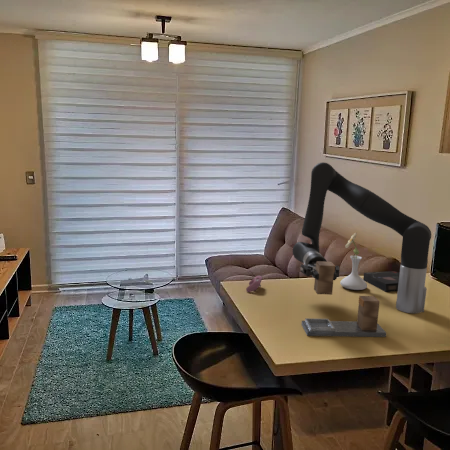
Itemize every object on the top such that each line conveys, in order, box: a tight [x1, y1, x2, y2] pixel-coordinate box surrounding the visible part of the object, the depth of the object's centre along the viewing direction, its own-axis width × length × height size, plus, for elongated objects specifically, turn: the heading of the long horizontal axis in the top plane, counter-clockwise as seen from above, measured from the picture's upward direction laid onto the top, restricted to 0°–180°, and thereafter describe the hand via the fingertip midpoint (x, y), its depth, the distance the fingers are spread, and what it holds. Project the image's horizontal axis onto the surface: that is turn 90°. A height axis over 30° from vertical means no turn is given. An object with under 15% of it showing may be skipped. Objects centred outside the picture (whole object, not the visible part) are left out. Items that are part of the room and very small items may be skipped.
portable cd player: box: [362, 270, 400, 293], centre depth 208 cm, size 16×17×4 cm
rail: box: [301, 317, 387, 338], centre depth 156 cm, size 26×9×2 cm, turn 93°
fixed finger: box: [356, 295, 381, 330], centre depth 155 cm, size 5×5×10 cm
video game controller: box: [245, 274, 263, 293], centre depth 194 cm, size 10×5×7 cm, turn 169°
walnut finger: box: [313, 261, 336, 296], centre depth 157 cm, size 5×5×10 cm
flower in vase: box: [339, 232, 368, 291], centre depth 199 cm, size 13×11×25 cm
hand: (326, 277), depth 154 cm, fingers closed on walnut finger, 5 cm apart
